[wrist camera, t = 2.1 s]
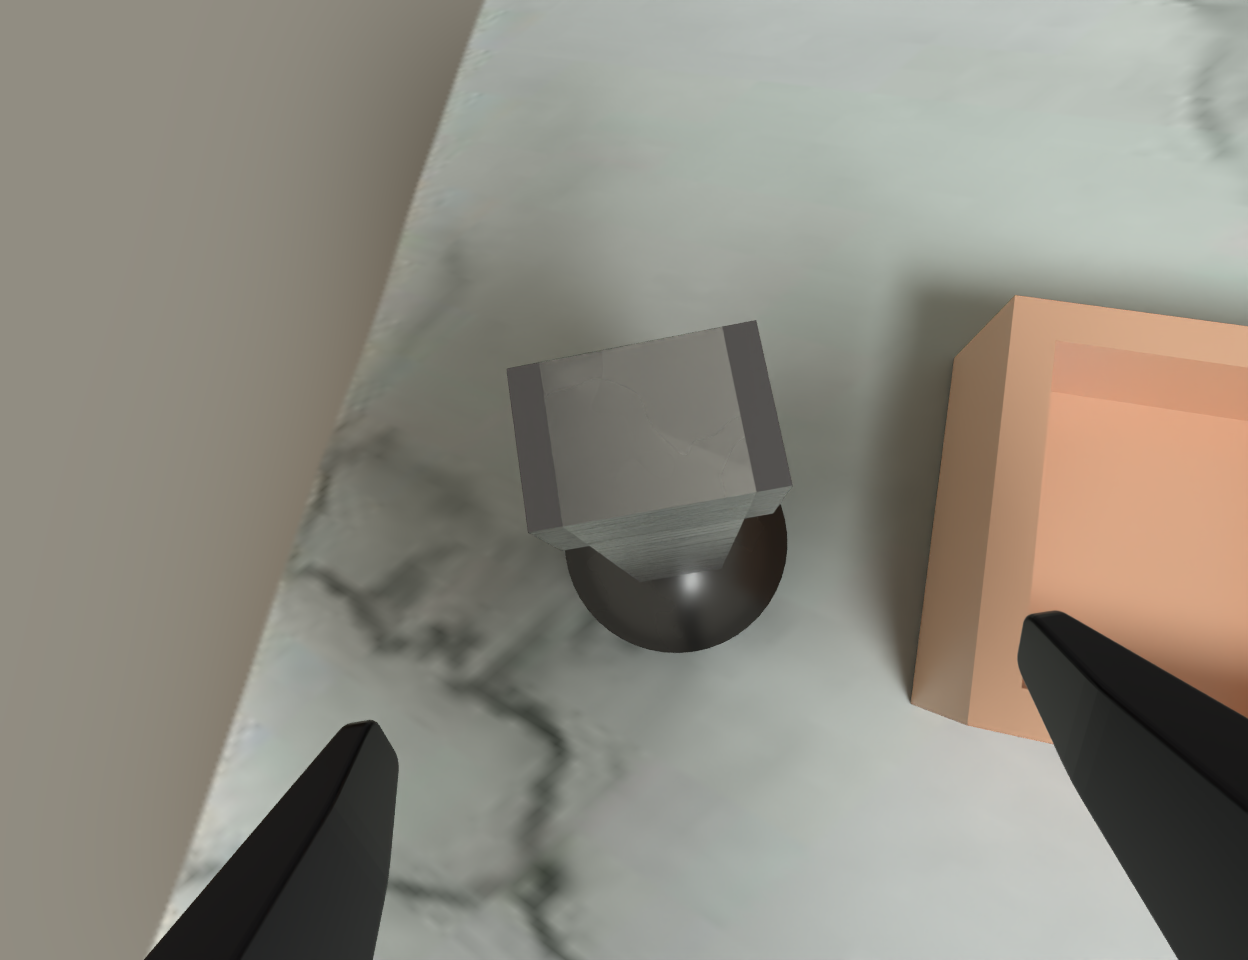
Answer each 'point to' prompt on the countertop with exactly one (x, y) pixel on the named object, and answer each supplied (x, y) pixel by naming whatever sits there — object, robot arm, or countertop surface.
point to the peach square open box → (1088, 504)
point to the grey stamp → (659, 482)
